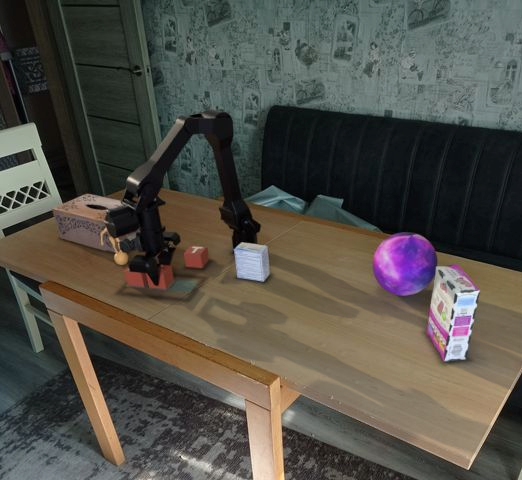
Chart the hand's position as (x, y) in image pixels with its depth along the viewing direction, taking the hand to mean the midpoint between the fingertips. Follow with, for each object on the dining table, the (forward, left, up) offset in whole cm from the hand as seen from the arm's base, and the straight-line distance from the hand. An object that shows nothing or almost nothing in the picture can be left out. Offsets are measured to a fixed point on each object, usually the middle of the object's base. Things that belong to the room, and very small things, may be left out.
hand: (161, 280), depth 142 cm
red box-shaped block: (0, 0, -1) cm, 1 cm away
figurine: (+18, -10, -2) cm, 21 cm away
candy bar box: (-73, +13, -2) cm, 74 cm away
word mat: (0, 0, -2) cm, 2 cm away
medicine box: (-23, -9, -2) cm, 25 cm away
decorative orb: (-62, -8, -2) cm, 63 cm away
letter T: (-5, -13, -2) cm, 14 cm away
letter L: (+6, 0, -1) cm, 7 cm away
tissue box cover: (+33, -26, -2) cm, 42 cm away
